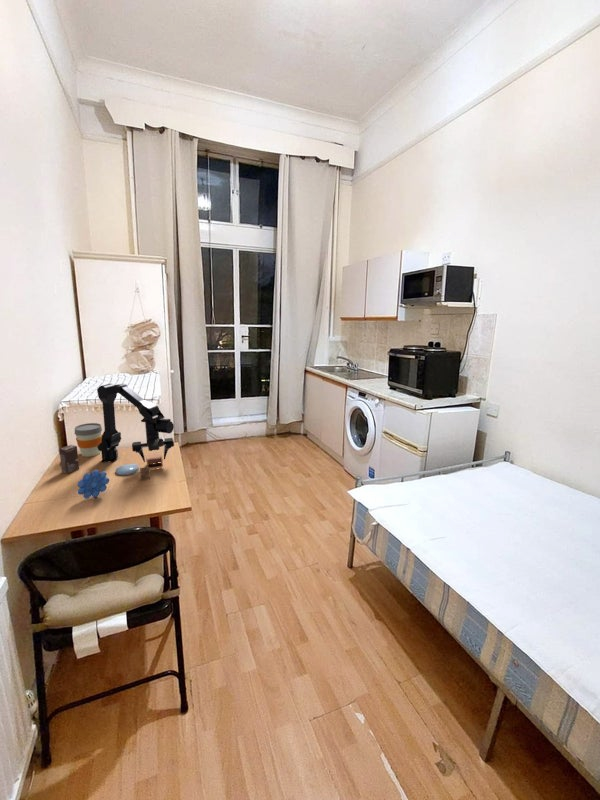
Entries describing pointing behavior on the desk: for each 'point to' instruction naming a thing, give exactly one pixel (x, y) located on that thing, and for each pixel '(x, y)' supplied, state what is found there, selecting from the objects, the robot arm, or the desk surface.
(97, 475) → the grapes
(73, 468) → the box
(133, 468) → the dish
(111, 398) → the robot arm
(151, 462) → the container
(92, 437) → the reusable coffee cup
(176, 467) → the desk surface
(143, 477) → the block
